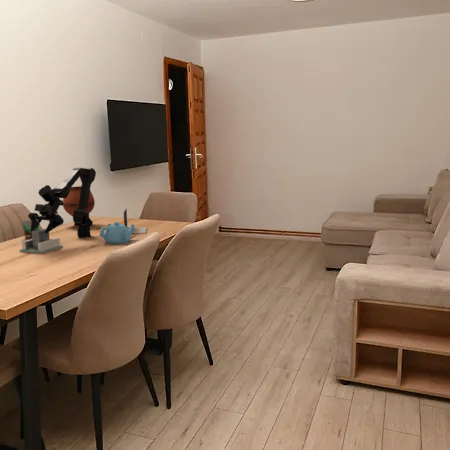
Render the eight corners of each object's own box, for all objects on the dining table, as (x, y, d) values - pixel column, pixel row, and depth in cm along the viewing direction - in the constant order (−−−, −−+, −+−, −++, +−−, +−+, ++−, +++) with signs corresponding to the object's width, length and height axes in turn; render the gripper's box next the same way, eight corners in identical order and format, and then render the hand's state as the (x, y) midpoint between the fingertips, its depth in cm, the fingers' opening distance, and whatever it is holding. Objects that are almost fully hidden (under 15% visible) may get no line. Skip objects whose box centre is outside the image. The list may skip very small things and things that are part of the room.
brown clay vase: (58, 228, 295) (55, 188, 290) (74, 223, 313) (72, 185, 309) (86, 229, 291) (84, 189, 286) (101, 224, 309) (99, 185, 305)
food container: (33, 239, 265) (31, 221, 264) (23, 238, 267) (21, 221, 265) (45, 234, 277) (44, 217, 275) (36, 234, 279) (34, 217, 277)
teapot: (109, 238, 265) (108, 219, 264) (135, 239, 263) (134, 219, 261) (98, 244, 251) (97, 224, 249) (126, 245, 248) (125, 224, 246)
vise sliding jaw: (37, 243, 249) (37, 236, 249) (44, 244, 248) (44, 236, 247) (18, 248, 238) (18, 241, 237) (25, 249, 236) (25, 241, 235)
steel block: (50, 246, 243) (48, 229, 241) (40, 249, 236) (38, 231, 235) (43, 245, 244) (41, 228, 243) (33, 248, 238) (31, 231, 236)
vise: (41, 245, 250) (40, 235, 249) (63, 247, 245) (62, 237, 244) (19, 251, 236) (18, 241, 235) (41, 253, 231) (41, 243, 230)
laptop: (146, 233, 278) (145, 211, 276) (124, 234, 276) (123, 212, 274) (147, 228, 296) (146, 207, 293) (126, 228, 294) (125, 207, 292)
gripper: (28, 197, 243) (14, 222, 235) (58, 198, 236) (43, 224, 228) (41, 210, 251) (27, 234, 243) (69, 211, 245) (56, 237, 237)
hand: (38, 232), depth 238 cm, fingers open, 9 cm apart
